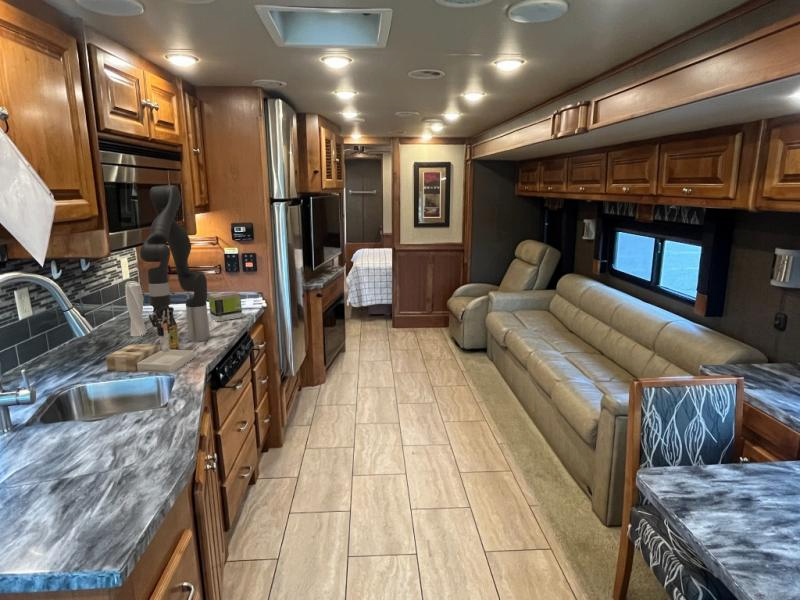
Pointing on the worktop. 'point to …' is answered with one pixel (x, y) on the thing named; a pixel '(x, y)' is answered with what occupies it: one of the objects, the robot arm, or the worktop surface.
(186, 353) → the tray
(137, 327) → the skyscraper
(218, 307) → the tea box
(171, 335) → the sauce bottle
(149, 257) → the robot arm
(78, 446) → the worktop surface
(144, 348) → the block
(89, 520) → the worktop surface
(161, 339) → the copper and grey cylinder
